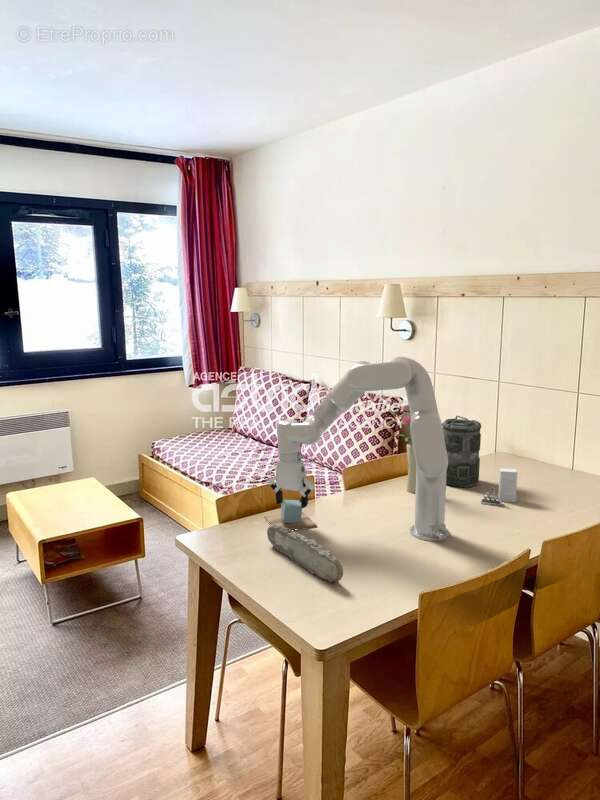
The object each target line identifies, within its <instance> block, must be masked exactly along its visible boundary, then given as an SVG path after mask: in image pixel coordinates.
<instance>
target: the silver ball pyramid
mask: <svg viewBox="0 0 600 800" xmlns="http://www.w3.org/2000/svg"><path fill="white" fill-rule="evenodd" d="M495 489H496V488H495V487H494V485H493V484H492V485H491V486H490V488H489V492H485V493H486V494H485V495H484V496H483V498H481V500H480V504H481V505H488V506H494V507H501V506H502V503H503V502H502V501H501V500H500V498H499V497H498V493H495V492H491V491H495Z"/></svg>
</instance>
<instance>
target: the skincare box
mask: <svg viewBox="0 0 600 800" xmlns="http://www.w3.org/2000/svg"><path fill="white" fill-rule="evenodd" d="M498 473H499V474H498V493H497V495H498V497H499V498H500V500H501V501H502V503H505V502H506V503H516V502H517V489H518V488H517V486H518V471H517V469H516V468H499V472H498Z"/></svg>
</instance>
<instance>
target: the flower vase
mask: <svg viewBox="0 0 600 800" xmlns="http://www.w3.org/2000/svg"><path fill="white" fill-rule="evenodd" d="M402 409H403V410H405V412H406V414H408V413H409V412H410V408H409V404H406V405H403V406H402ZM397 412H399V410H398V409H397ZM393 415H398V413H395V412H393ZM399 417H401V418H402V419H401V421H400V422H401V423H402V424H404V425H406V427H407V430H408V434H409V437H405V434H397V435H396V436H398V437H399V436H400V437H402V438H404V441H405V442H408V441H409V440H410V443H408V444H406V455H407V463H408V471H407V478H406V480H407V481H406V488H405V489H406V490H405V491H406V492H407V493H410V494H416V459H415V454H414V448H413V443H412V438H411V432H410V423H411V415H405V416H404V417H402V415H399Z"/></svg>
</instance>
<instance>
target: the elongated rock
mask: <svg viewBox="0 0 600 800" xmlns="http://www.w3.org/2000/svg"><path fill="white" fill-rule="evenodd" d="M266 533H267V536H266V537H267V539H268V542H269V543H270V544H271V545H272V547H274V548H275V550H277V551H278V552H280V553H282V554H283V555H285V556H286V557H288V556H289V557H290V558H289V557H288V558H289V559H291V561H294V562H295V563H297V564H299V565H300V566H301V568H303V569H306V570H307V572H308V573H310V574H311V575H312V576H313V575H314V576H317V577H319V578H320V579H323V580H324V581H328V582H329V583H330V584H333V583H336V582H339V581H340V580H342V578H343V576H344V568H343V564H342V563H341V561H340V560H339V559H338V558H337V556H335V555H334V554H333V553H332V552H331V550H329V549H327V548H326V547H325V546H324V545H323V544H320V543H319V542H318V541H317V540H316V539H314V538H309V537H306V536H304V535H303V534H301V533H299V532H296V531H292V530H290V529H287V528H285V527H283V526H281V525H272V526H271V525H269V526H268V528H267V530H266Z"/></svg>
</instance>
